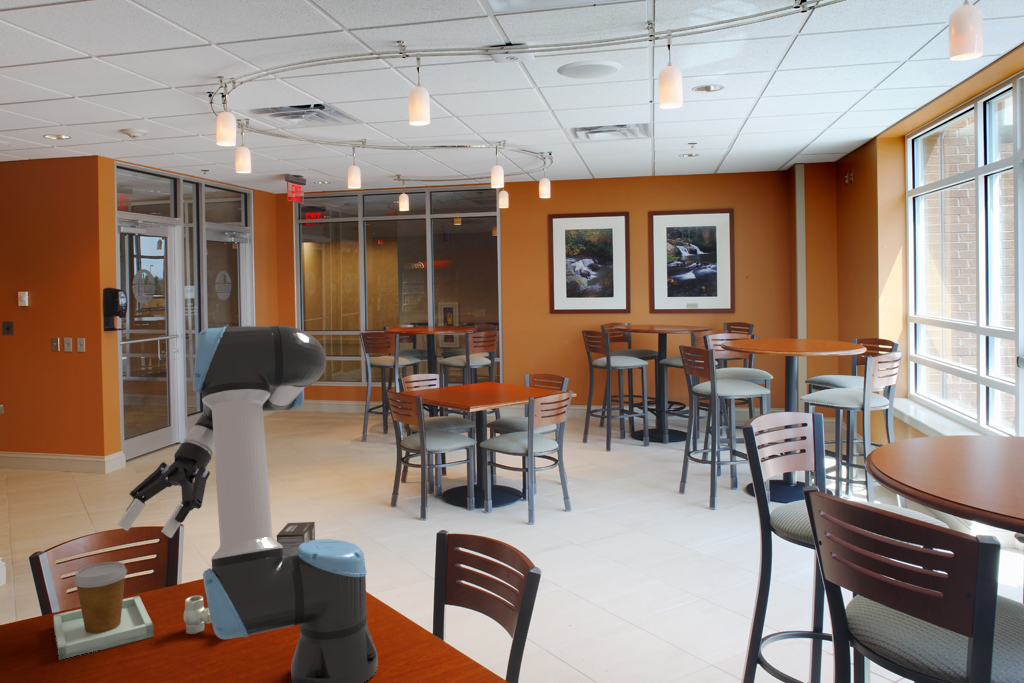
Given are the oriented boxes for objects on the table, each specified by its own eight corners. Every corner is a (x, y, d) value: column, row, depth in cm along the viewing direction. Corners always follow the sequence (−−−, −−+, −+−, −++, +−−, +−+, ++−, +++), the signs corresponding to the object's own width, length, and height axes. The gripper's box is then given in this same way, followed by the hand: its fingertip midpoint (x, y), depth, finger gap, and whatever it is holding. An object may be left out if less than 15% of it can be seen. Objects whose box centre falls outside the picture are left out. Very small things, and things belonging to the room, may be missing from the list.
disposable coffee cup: (139, 617, 148) (137, 561, 147) (105, 638, 138) (103, 578, 138) (100, 615, 149) (98, 559, 149) (64, 635, 140) (61, 576, 140)
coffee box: (290, 589, 164) (287, 521, 163) (317, 588, 164) (315, 521, 163) (278, 606, 155) (276, 534, 154) (307, 605, 155) (305, 533, 154)
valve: (176, 637, 141) (231, 640, 139) (174, 605, 141) (230, 608, 139) (195, 622, 148) (248, 625, 146) (194, 591, 147) (247, 594, 145)
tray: (153, 636, 141) (152, 624, 141) (59, 661, 132) (58, 648, 132) (139, 606, 156) (139, 595, 156) (53, 626, 146) (53, 615, 146)
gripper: (246, 462, 163) (196, 546, 150) (170, 455, 173) (116, 532, 160) (227, 443, 158) (174, 529, 145) (150, 437, 168) (93, 516, 155)
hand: (144, 531), depth 152 cm, fingers open, 13 cm apart
